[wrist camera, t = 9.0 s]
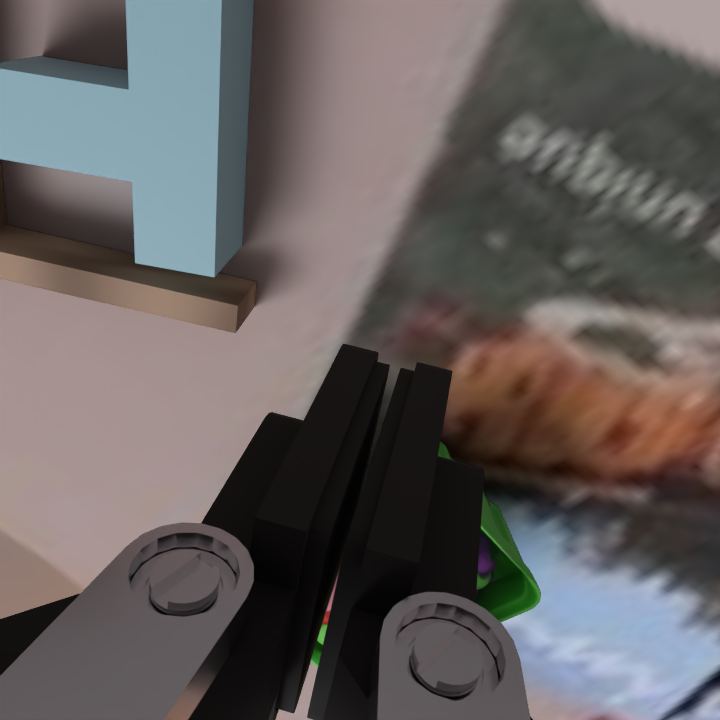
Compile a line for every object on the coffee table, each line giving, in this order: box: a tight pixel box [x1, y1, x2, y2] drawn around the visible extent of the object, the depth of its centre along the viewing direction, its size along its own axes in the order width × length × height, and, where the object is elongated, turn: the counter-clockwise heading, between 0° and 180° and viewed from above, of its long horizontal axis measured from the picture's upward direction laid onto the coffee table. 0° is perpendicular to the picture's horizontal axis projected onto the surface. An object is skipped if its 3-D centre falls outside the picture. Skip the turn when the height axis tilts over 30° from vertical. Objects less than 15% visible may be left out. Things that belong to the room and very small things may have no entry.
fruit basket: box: [311, 442, 541, 668], centre depth 29 cm, size 11×9×11 cm
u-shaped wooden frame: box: [0, 159, 257, 333], centre depth 25 cm, size 12×14×2 cm
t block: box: [0, 0, 254, 277], centre depth 24 cm, size 8×9×4 cm
